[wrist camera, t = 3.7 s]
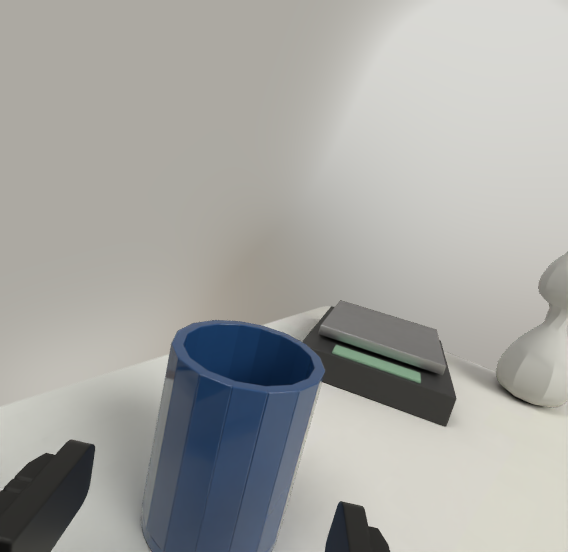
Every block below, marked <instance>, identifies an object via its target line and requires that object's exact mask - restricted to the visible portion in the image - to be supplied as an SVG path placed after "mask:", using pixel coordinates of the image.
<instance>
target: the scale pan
mask: <svg viewBox="0 0 568 552" xmlns="http://www.w3.org/2000/svg"><path fill="white" fill-rule="evenodd" d="M319 334H320V335H323V336H326V337H329V338H332V339H335V340H338V341H341V342H344V343H347V344H350V345H353V346H356V347H359V348H362V349H365V350H368V351H371V352H374V353H377V354H380V355H383V356H386V357H389V358H392V359H395V360H398V361H401V362H404V363H407V364H410V365H413V366H416V367H419V368H422V369H425V370H428V371H431V372H434V373H437V374H440V375H443V374H444V371H445V368H446V364H445V360H444V356H443V353H442V349H441V345H440V341H439V337H438V334H437V330H436V329H433V328H429V327H426V326H423V325H420V324H417V323H413V322H410V321H407V320H403V319H400V318H397V317H394V316H391V315H387V314H384V313H381V312H377V311H374V310H371V309H368V308H364V307H361V306H358V305H355V304H351V303H348V302H345V301H342V300H340V301H339V303H338V304H337V305H336V306H335V308H334V309H333V310H332V311H331V313H330V314H329V315H328V317H327V318H326V319H325V320H324V322H323V323H322V324H321V326H320V330H319Z"/></svg>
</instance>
